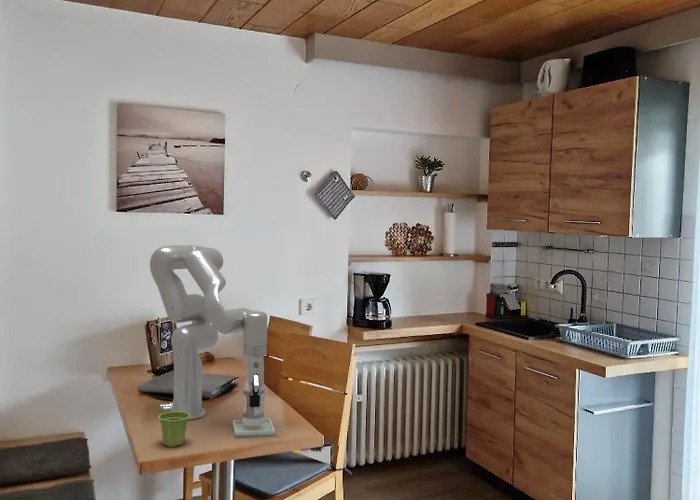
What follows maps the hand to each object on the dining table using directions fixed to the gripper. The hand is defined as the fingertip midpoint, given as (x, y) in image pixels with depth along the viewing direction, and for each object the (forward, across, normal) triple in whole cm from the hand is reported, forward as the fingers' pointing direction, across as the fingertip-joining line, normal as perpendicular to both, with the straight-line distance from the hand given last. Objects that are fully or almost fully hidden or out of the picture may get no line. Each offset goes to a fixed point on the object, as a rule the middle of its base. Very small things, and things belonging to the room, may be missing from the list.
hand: (253, 403), depth 211 cm
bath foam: (+7, 0, 0) cm, 7 cm away
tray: (+9, 0, 0) cm, 9 cm away
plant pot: (+9, -8, +25) cm, 28 cm away
